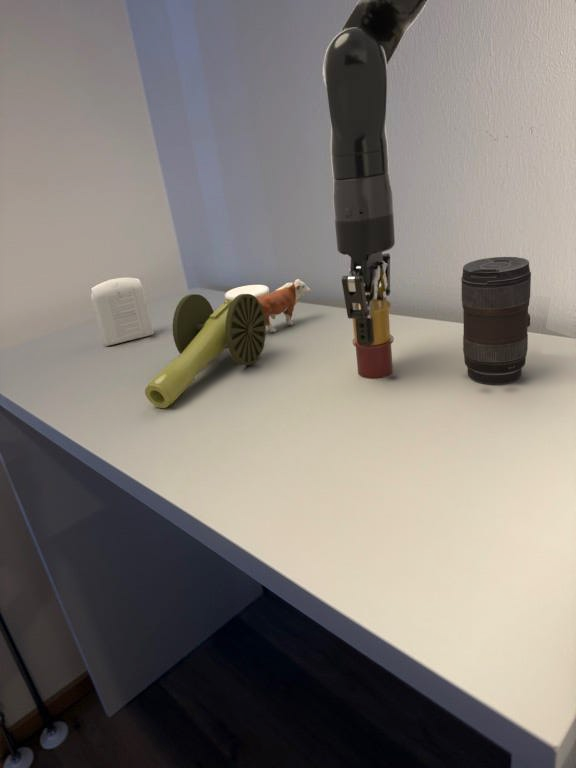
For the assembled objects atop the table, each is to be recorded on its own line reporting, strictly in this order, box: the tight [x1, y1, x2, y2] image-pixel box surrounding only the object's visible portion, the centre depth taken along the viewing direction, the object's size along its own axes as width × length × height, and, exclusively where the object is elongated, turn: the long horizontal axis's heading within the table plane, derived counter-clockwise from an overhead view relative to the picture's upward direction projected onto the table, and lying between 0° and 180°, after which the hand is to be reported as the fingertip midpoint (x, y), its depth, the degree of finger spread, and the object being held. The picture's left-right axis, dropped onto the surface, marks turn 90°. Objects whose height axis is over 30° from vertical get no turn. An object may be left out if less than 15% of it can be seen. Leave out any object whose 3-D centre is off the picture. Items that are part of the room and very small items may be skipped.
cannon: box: [144, 293, 267, 409], centre depth 84 cm, size 25×12×11 cm, turn 154°
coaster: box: [224, 284, 270, 301], centre depth 121 cm, size 10×10×4 cm
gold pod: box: [352, 300, 392, 346], centre depth 76 cm, size 6×6×5 cm
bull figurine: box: [256, 278, 311, 333], centre depth 102 cm, size 4×13×8 cm, turn 124°
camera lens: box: [460, 256, 532, 385], centre depth 69 cm, size 8×8×15 cm
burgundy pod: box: [351, 334, 395, 380], centre depth 78 cm, size 6×6×5 cm
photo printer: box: [90, 277, 155, 347], centre depth 107 cm, size 10×4×12 cm, turn 116°
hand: (372, 336), depth 76 cm, fingers closed on gold pod, 5 cm apart
